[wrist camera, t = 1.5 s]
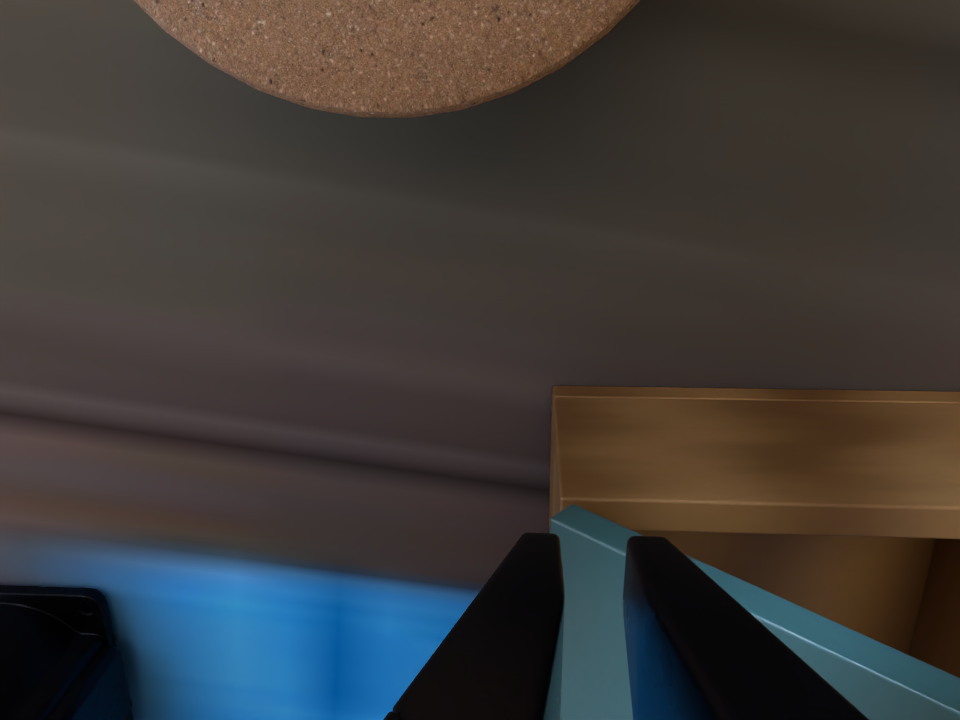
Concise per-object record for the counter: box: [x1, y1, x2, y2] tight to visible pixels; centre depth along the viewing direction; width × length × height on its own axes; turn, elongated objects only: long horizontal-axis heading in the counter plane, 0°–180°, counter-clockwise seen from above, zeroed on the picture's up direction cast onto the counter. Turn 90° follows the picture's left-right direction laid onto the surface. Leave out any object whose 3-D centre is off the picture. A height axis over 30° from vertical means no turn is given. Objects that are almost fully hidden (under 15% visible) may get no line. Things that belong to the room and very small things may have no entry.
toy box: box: [549, 386, 960, 678], centre depth 22 cm, size 12×16×6 cm
